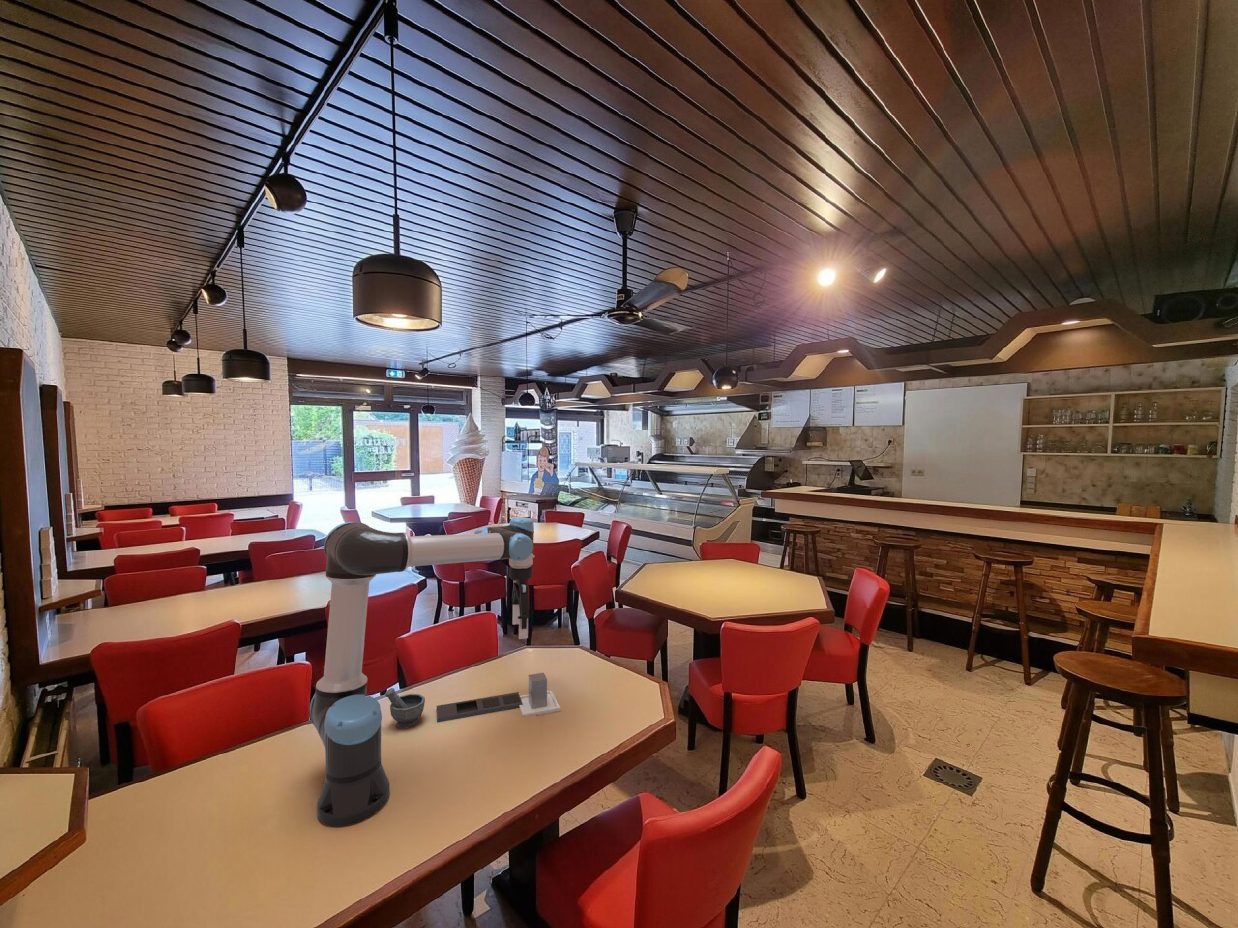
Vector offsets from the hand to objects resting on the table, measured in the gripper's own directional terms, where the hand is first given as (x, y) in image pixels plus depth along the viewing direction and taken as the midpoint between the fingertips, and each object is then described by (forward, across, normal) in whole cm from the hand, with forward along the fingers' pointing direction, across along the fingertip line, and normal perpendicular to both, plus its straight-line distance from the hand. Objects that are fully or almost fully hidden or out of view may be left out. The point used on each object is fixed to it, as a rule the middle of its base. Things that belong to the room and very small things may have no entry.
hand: (519, 630), depth 161 cm
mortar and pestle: (+26, +1, +34) cm, 43 cm away
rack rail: (+25, +2, +12) cm, 28 cm away
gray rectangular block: (+24, -1, -6) cm, 25 cm away
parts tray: (+25, -1, -6) cm, 26 cm away
